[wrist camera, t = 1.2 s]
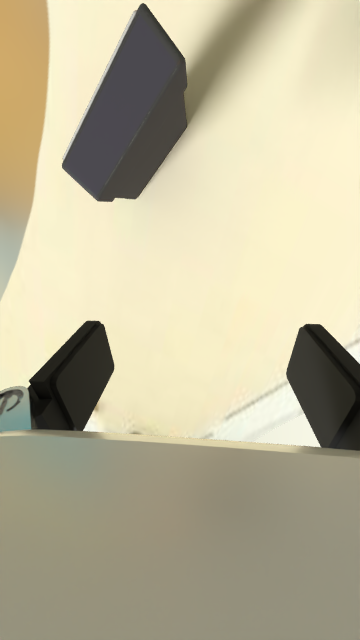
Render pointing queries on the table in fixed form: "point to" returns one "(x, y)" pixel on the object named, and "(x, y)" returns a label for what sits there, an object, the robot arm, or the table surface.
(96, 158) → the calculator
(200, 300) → the table surface
